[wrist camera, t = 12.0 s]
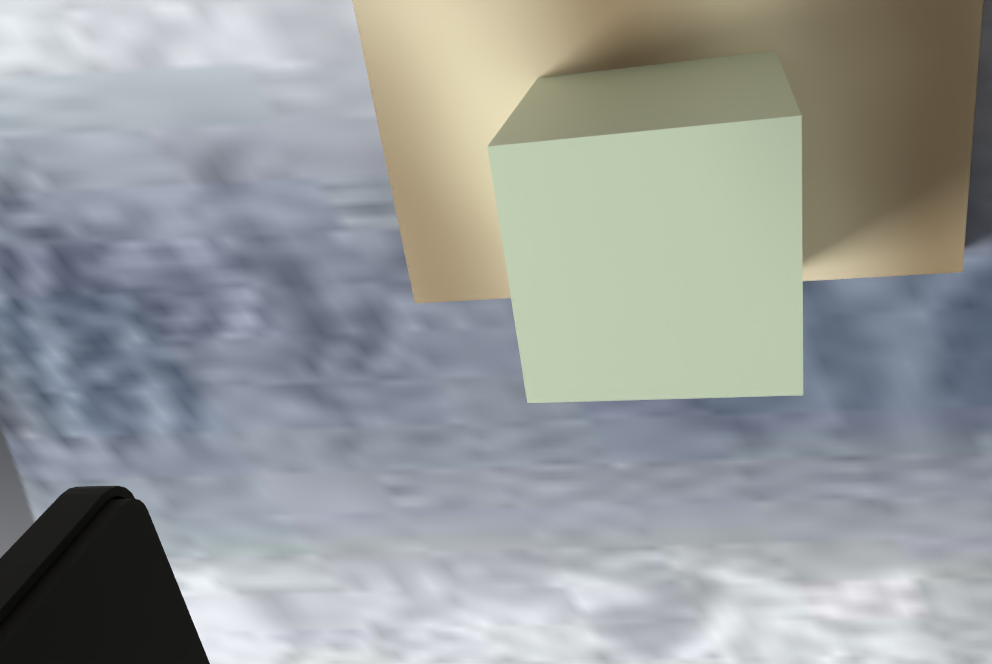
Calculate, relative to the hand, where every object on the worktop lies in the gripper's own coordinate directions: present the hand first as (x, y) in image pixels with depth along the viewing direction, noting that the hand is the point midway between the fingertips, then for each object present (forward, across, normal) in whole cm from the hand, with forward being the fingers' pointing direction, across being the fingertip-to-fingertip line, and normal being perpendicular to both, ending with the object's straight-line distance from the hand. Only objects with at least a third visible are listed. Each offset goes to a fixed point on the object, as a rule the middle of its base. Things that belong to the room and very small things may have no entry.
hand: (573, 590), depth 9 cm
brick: (+15, 0, +1) cm, 15 cm away
